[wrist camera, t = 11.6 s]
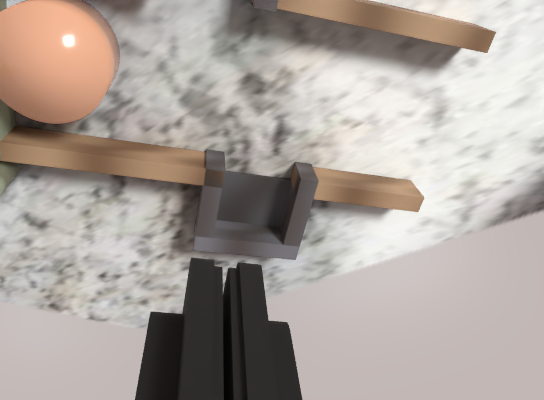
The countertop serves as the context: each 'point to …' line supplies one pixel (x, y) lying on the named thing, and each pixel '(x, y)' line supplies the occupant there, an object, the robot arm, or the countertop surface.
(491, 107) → the countertop surface
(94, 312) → the countertop surface
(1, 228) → the countertop surface
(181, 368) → the robot arm
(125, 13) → the countertop surface
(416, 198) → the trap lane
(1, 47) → the short salmon cylinder
